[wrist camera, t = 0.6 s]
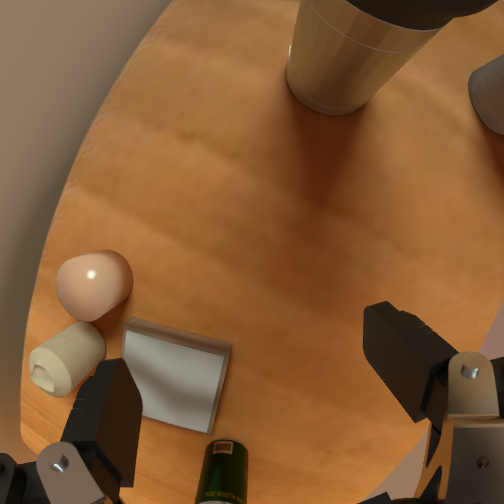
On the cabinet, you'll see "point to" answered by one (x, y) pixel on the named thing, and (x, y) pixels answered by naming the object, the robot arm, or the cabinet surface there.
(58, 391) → the candle
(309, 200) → the cabinet surface
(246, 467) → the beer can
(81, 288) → the peach rounded cylinder
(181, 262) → the cabinet surface
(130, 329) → the podium
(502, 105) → the pillar candle
